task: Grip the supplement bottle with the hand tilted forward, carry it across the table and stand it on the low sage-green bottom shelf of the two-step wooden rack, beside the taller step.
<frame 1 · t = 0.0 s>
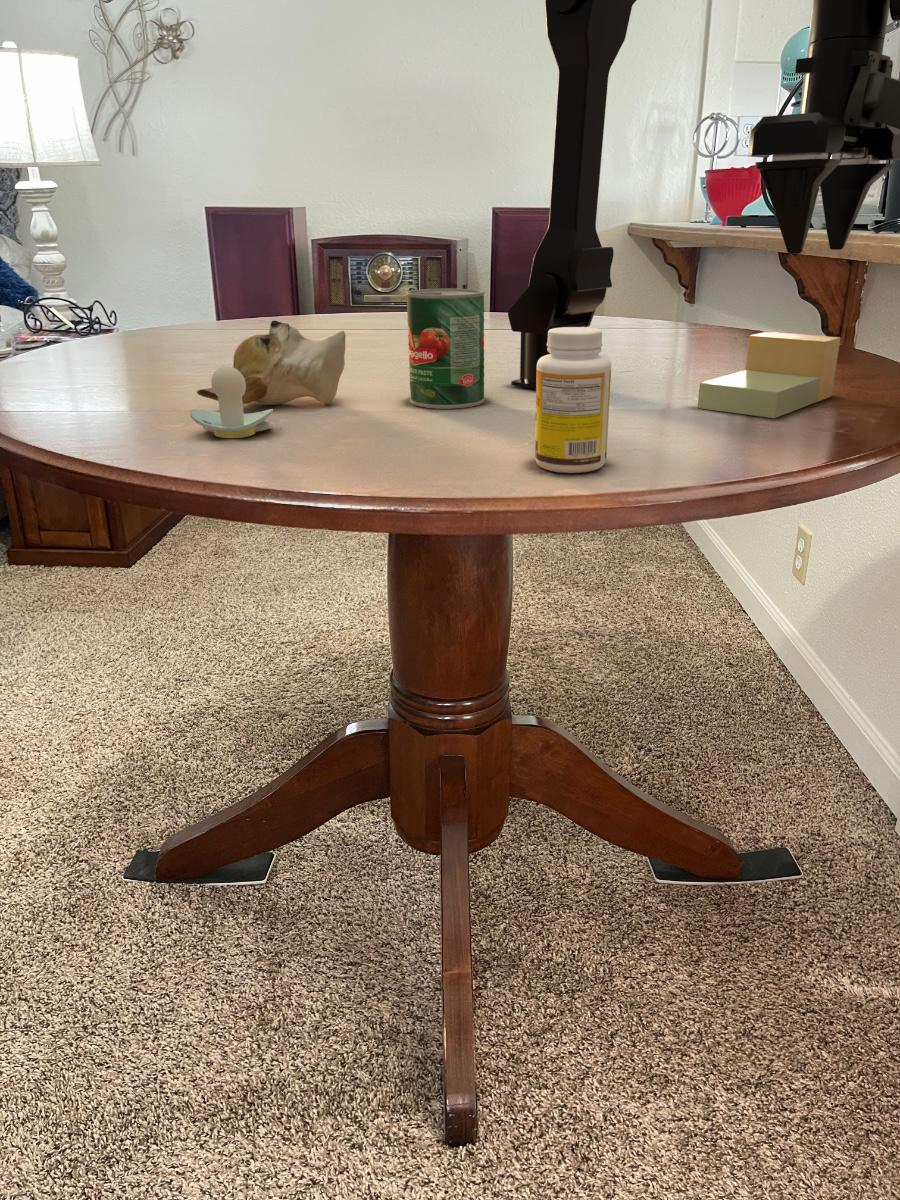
hand: (816, 251, 78), 15 cm above the table, tool pointing down, fingers open, 9 cm apart
ceramic sculpture: (279, 405, 94), on the table
canned tomato: (447, 403, 94), on the table
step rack: (770, 400, 92), on the table
pacifier: (237, 435, 81), on the table
supplement bottle: (569, 468, 69), on the table
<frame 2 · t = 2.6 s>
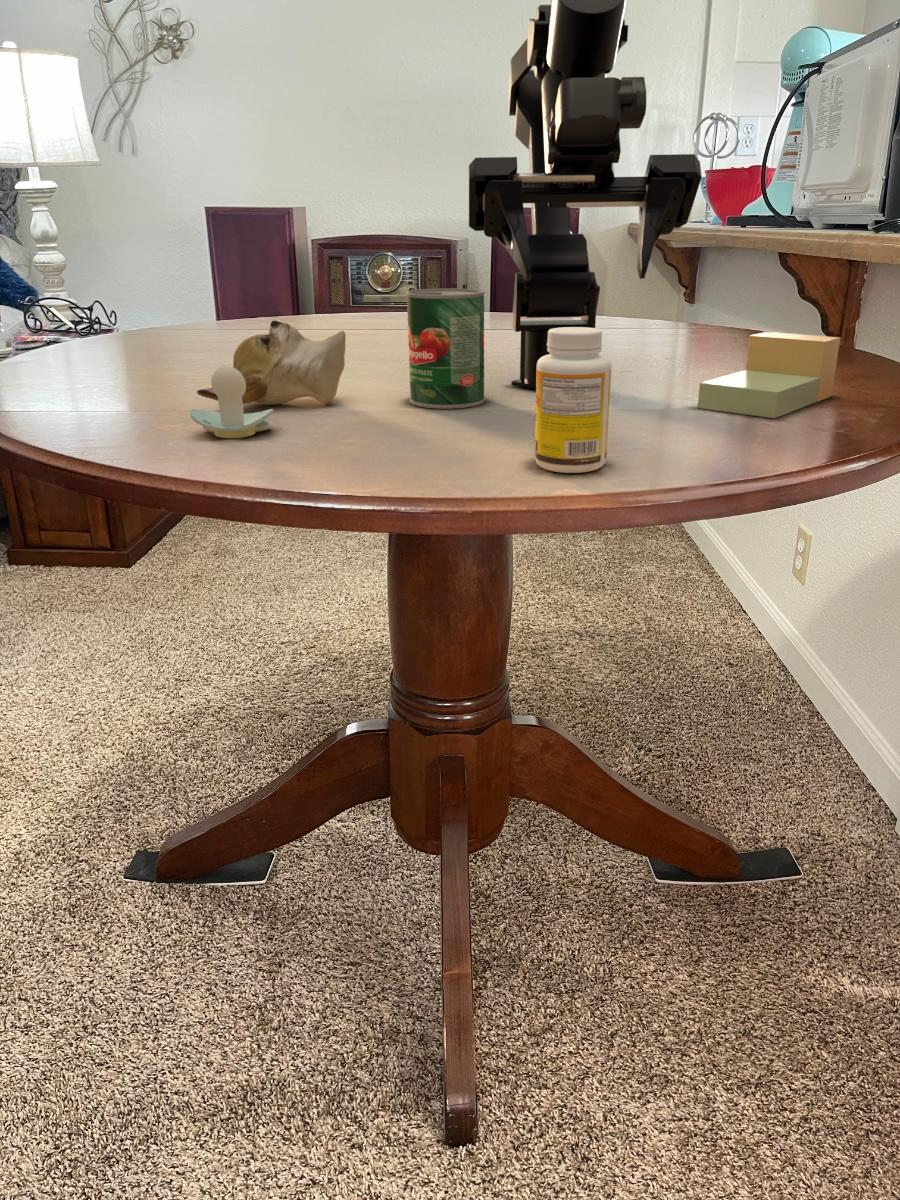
hand: (585, 275, 71), 13 cm above the table, tool tilted 40°, fingers open, 9 cm apart
nothing on the table moved.
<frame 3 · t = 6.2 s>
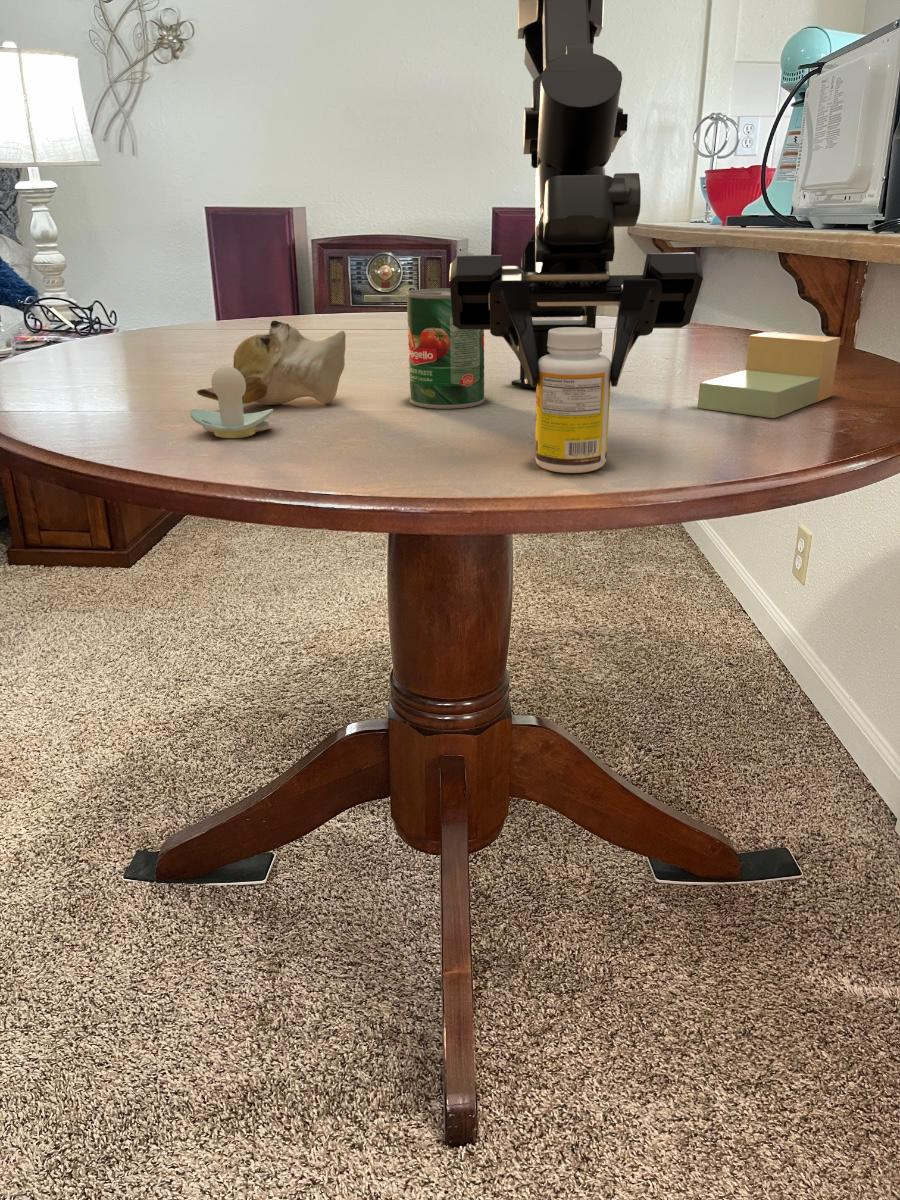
hand: (574, 383, 65), 7 cm above the table, tool tilted 45°, fingers closed on supplement bottle, 5 cm apart
supplement bottle: (569, 468, 69), on the table, touching gripper
everything else where it was.
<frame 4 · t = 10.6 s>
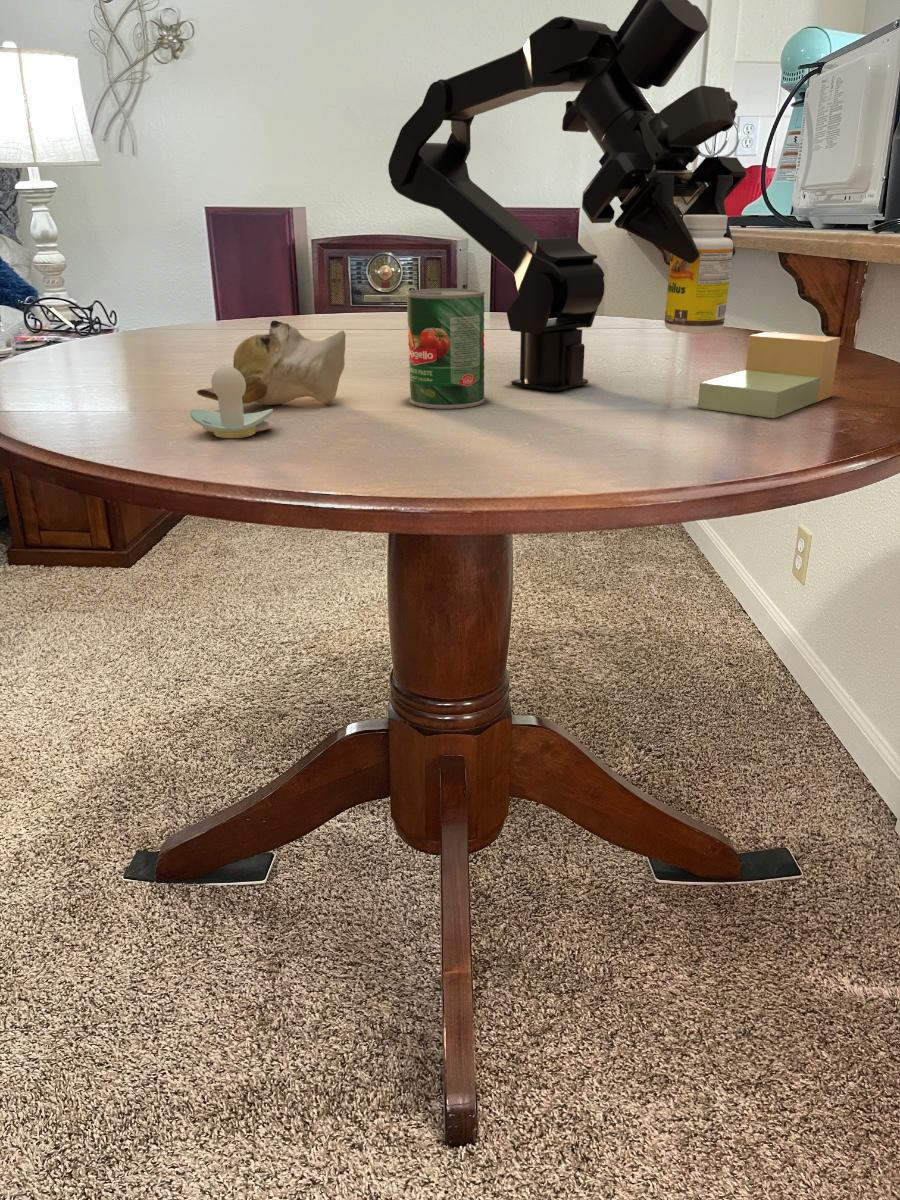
hand: (713, 258, 82), 14 cm above the table, tool tilted 45°, fingers closed on supplement bottle, 5 cm apart
supplement bottle: (692, 332, 86), point 7 cm above the table, touching gripper
everything else where it was.
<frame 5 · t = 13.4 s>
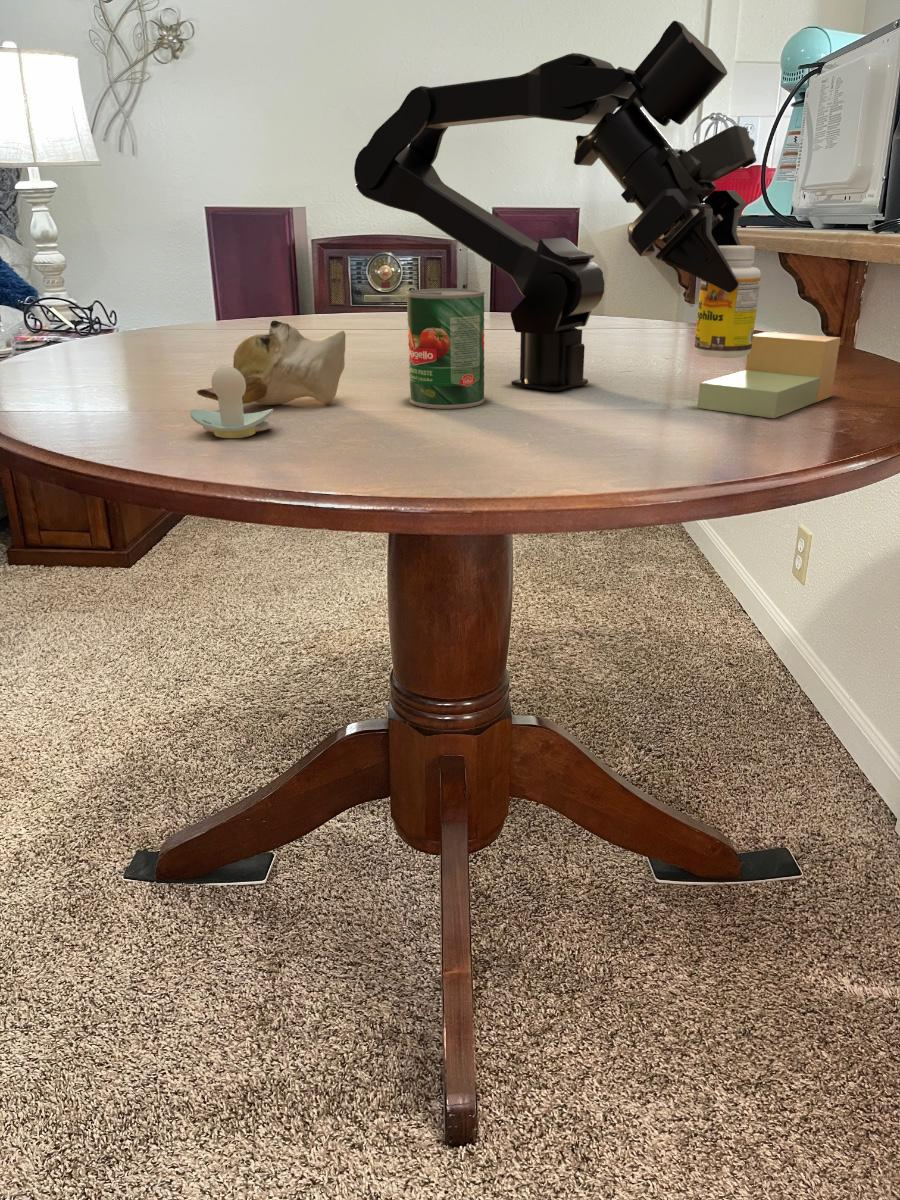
hand: (743, 286, 86), 11 cm above the table, tool tilted 45°, fingers closed on supplement bottle, 5 cm apart
supplement bottle: (721, 356, 90), point 4 cm above the table, touching gripper
everything else where it was.
when the fingers open (9 cm above the table, at t = 15.3 s): supplement bottle stays where it is, resting on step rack.
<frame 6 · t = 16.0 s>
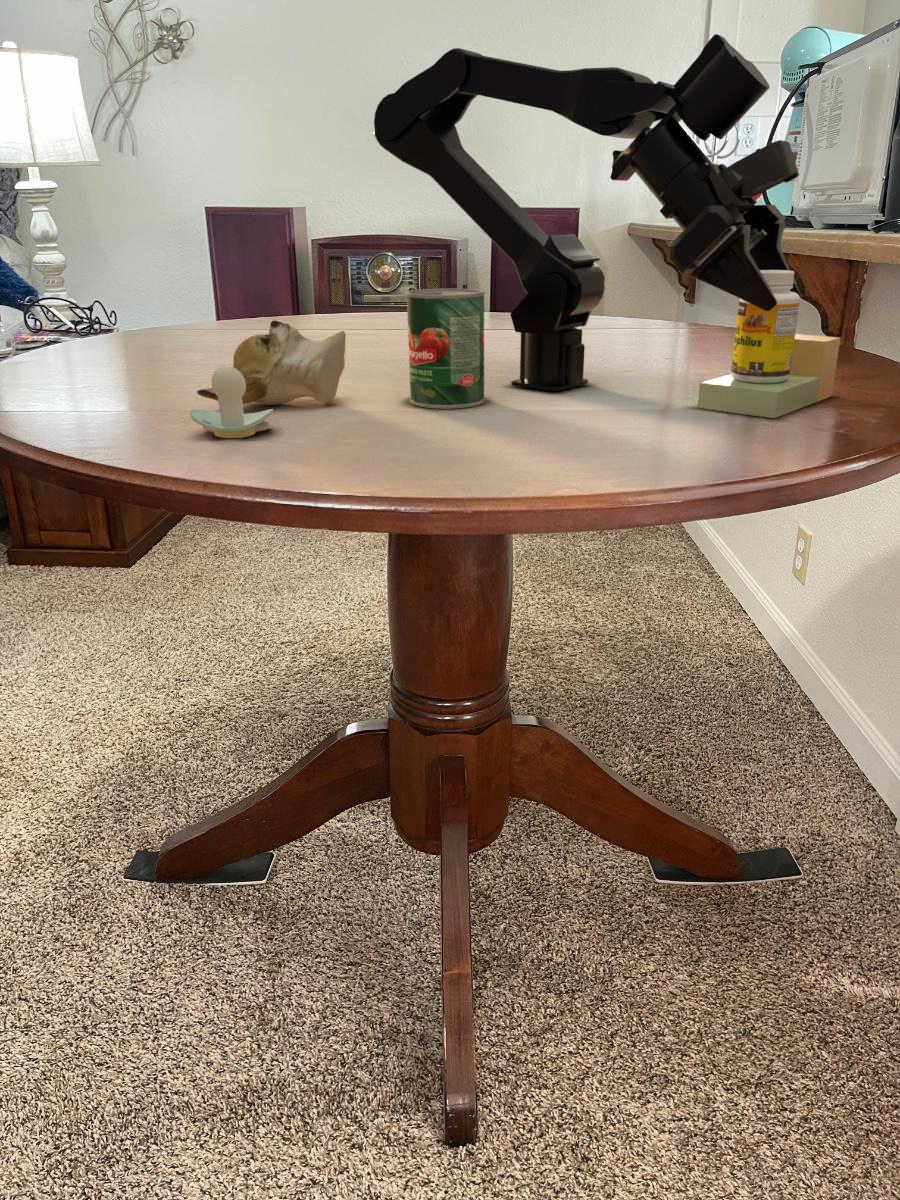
hand: (785, 303, 85), 10 cm above the table, tool tilted 45°, fingers open, 9 cm apart
supplement bottle: (758, 381, 89), point 2 cm above the table, touching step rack
everything else where it was.
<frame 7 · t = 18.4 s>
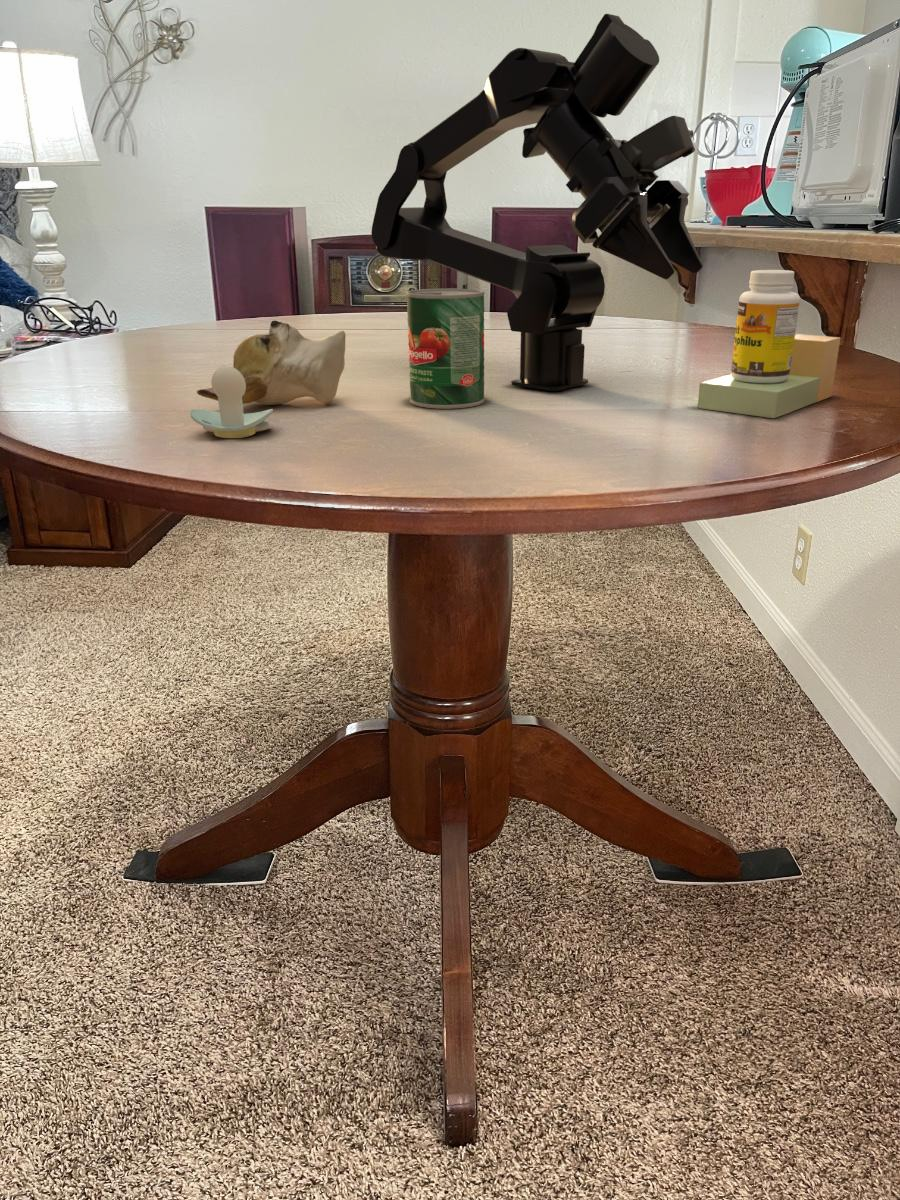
hand: (685, 273, 89), 12 cm above the table, tool tilted 45°, fingers open, 9 cm apart
nothing on the table moved.
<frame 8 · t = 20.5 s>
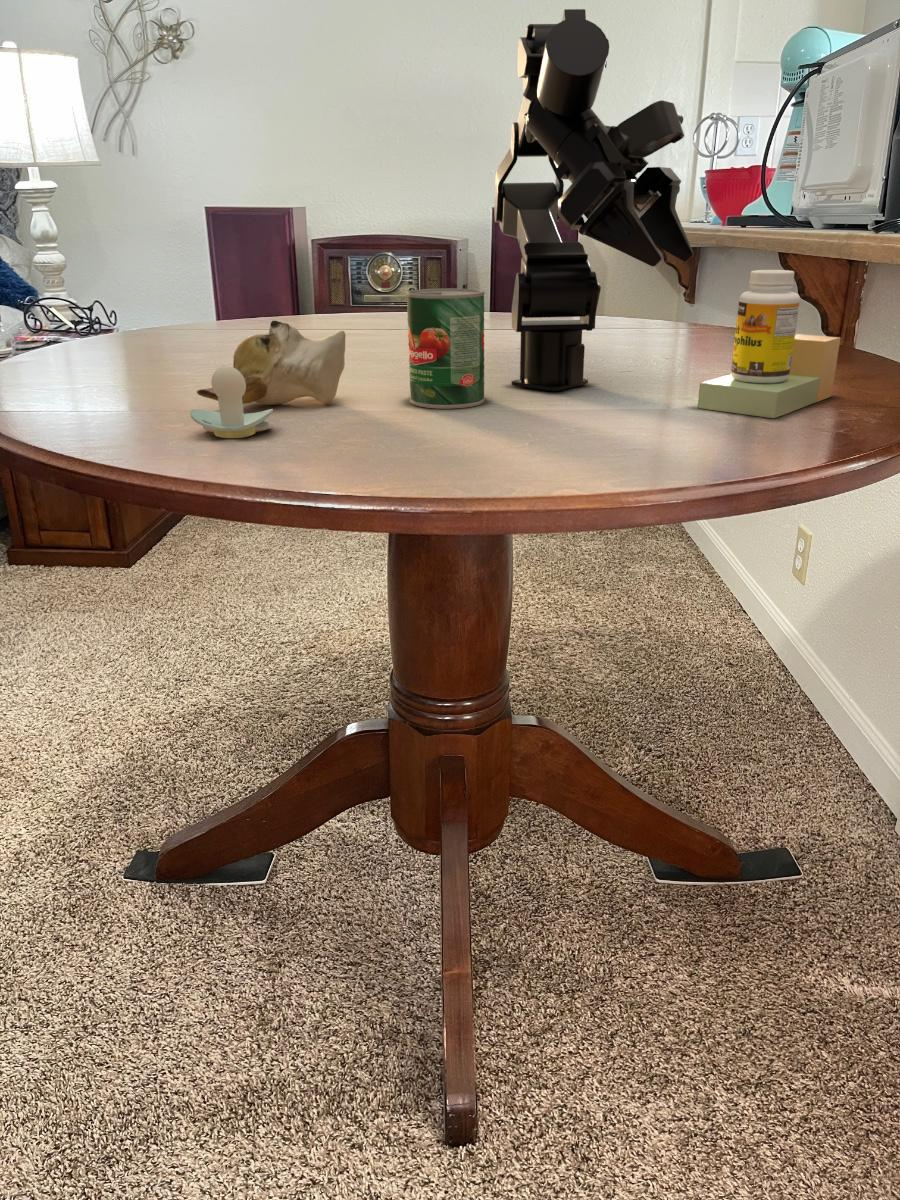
hand: (674, 260, 88), 14 cm above the table, tool tilted 45°, fingers open, 9 cm apart
nothing on the table moved.
at the end: supplement bottle inside the target area on the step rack (0.1 cm from its centre), point 2.3 cm above the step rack's base; supplement bottle tilted 0° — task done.
